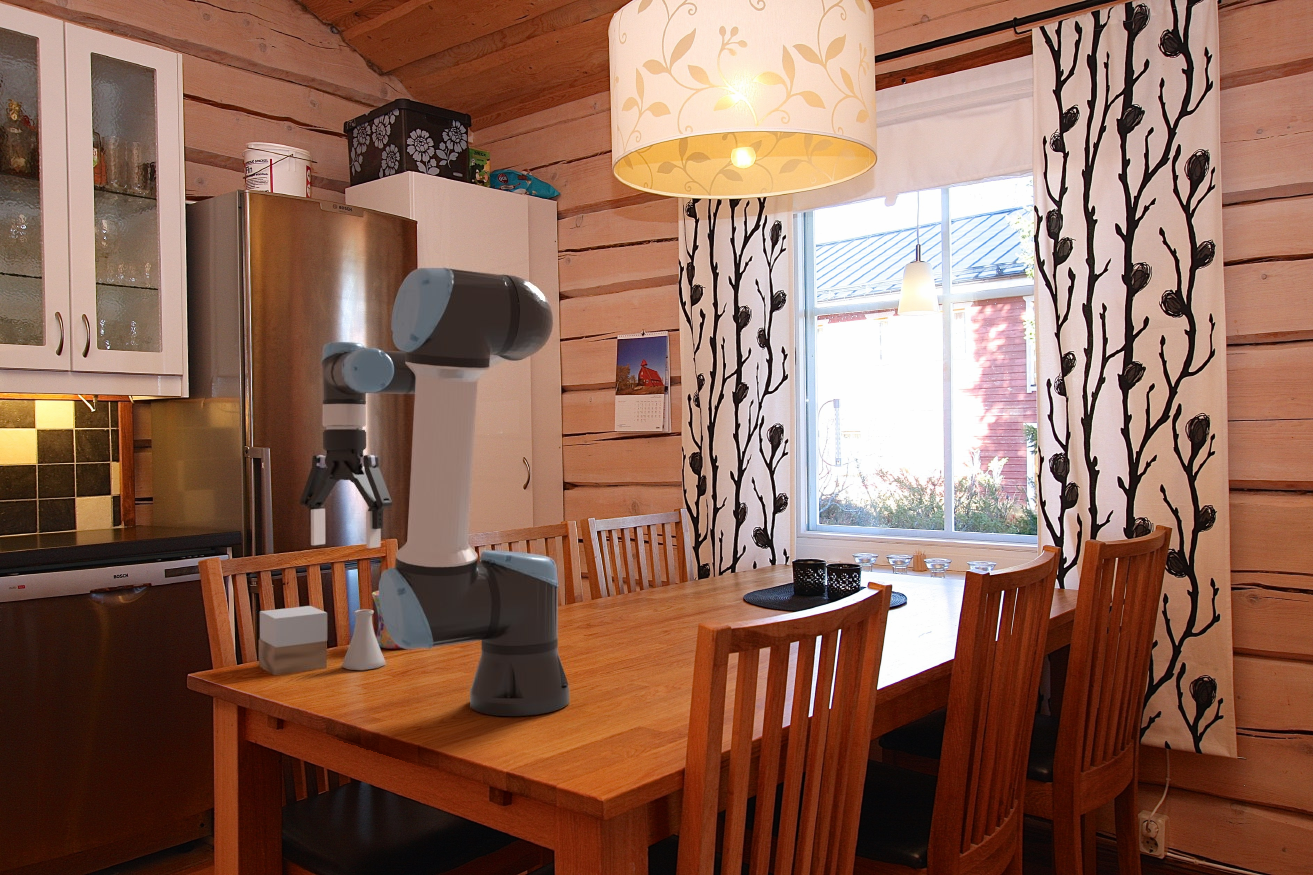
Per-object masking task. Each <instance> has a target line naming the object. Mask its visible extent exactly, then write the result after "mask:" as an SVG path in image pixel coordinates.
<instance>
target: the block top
mask: <svg viewBox="0 0 1313 875" xmlns="http://www.w3.org/2000/svg"><path fill="white" fill-rule="evenodd" d="M259 639H261V640H262V641H264V642H266V643H268V644H270V645H272V646H273V647H275V648H276V647H284V646H291V645H299V644H306V643H314V642H322V641H326V642H327V641H328V612H326V611H324V610H323V609H322V610H321V609H320V608H317V607H315V606H312V605H305V606H295V607H289V608H288V607H287V608H280V609H279V608H278V609H268V610H260V611H259Z"/></svg>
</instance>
